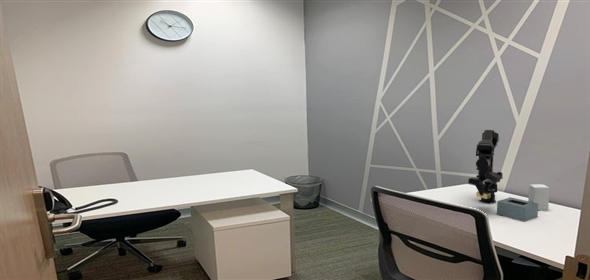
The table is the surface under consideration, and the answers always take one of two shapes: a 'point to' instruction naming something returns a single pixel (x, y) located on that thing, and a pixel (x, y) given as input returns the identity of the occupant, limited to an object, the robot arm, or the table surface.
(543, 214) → the table surface
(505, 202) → the box
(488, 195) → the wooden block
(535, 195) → the supplement box
